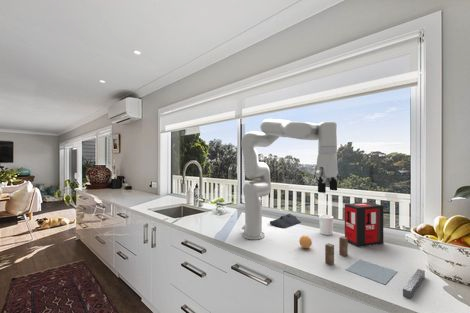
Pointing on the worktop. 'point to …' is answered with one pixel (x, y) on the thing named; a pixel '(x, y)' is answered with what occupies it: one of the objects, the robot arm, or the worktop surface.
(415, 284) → the wall
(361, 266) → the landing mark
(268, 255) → the worktop surface
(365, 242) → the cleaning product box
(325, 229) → the white cup
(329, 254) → the post
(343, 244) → the post
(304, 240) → the ball
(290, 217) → the dark slate chunk
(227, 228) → the worktop surface
